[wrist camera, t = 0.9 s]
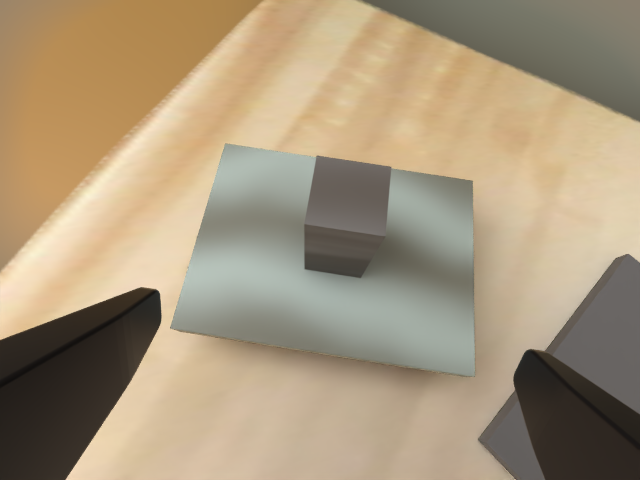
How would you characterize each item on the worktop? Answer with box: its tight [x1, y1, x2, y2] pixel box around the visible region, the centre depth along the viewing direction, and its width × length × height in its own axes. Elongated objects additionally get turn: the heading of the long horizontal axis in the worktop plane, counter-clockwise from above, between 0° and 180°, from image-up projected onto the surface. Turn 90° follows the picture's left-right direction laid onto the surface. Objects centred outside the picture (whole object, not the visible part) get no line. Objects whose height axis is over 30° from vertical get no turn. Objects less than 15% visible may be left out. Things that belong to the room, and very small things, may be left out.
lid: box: [170, 144, 475, 377], centre depth 17 cm, size 11×15×8 cm
